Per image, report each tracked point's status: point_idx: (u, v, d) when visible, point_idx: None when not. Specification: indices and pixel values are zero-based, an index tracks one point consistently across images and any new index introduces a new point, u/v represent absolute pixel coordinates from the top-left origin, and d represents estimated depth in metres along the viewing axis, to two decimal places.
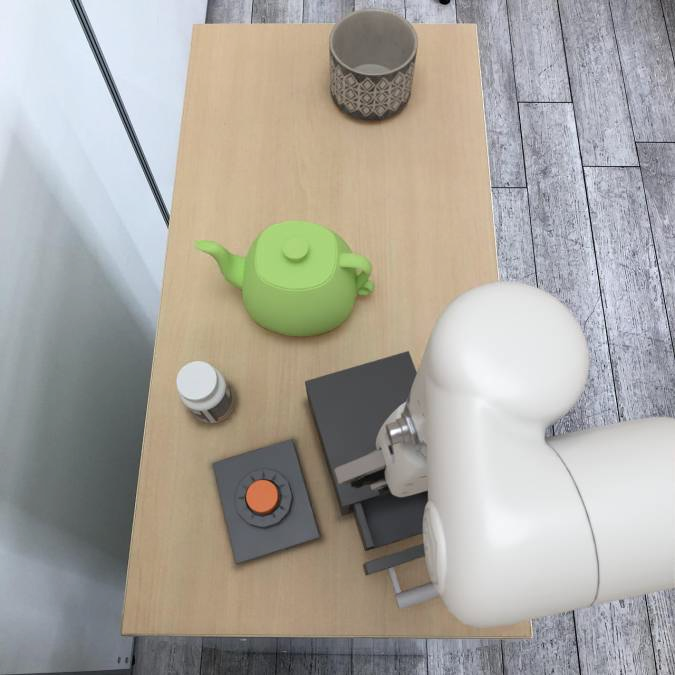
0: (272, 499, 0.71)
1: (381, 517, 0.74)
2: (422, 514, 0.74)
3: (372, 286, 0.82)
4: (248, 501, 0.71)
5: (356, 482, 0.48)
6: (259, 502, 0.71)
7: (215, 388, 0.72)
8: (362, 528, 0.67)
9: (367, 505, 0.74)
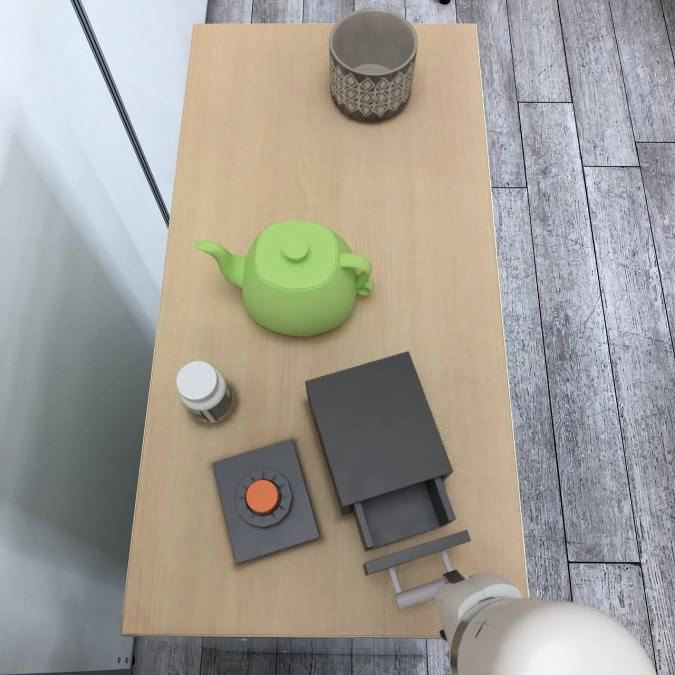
0: (272, 499, 0.71)
1: (381, 517, 0.74)
2: (422, 514, 0.74)
3: (372, 286, 0.82)
4: (248, 501, 0.71)
5: None
6: (259, 502, 0.71)
7: (215, 388, 0.72)
8: (362, 528, 0.67)
9: (367, 505, 0.74)
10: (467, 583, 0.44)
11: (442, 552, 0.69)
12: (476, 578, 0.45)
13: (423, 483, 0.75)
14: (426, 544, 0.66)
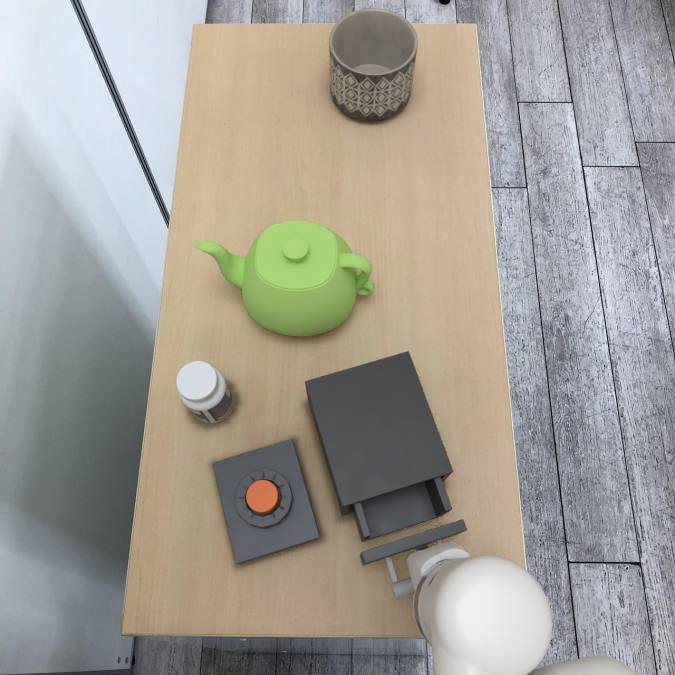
0: (272, 499, 0.71)
1: (378, 508, 0.74)
2: (419, 505, 0.74)
3: (372, 286, 0.82)
4: (248, 501, 0.71)
5: None
6: (259, 502, 0.71)
7: (215, 388, 0.72)
8: (359, 518, 0.67)
9: None
10: (430, 549, 0.56)
11: (438, 542, 0.69)
12: (437, 545, 0.56)
13: None
14: (422, 533, 0.67)
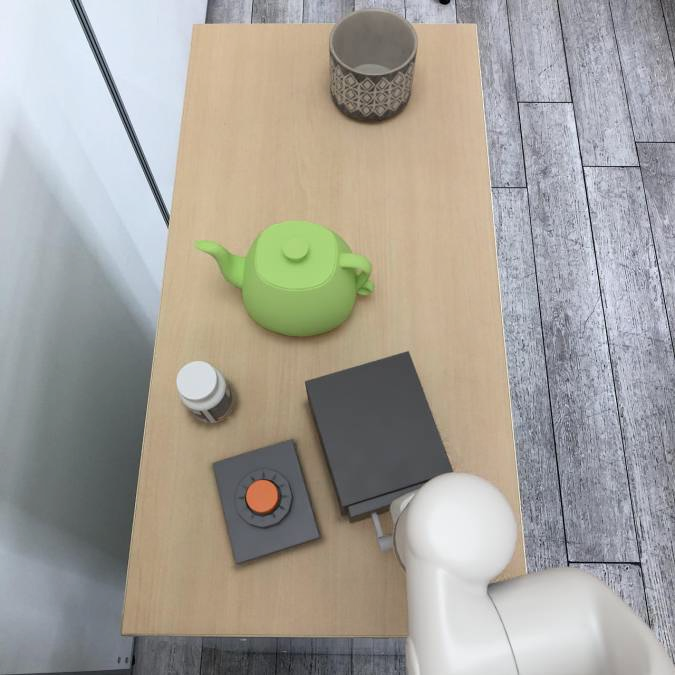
0: (272, 499, 0.71)
1: None
2: None
3: (372, 286, 0.82)
4: (248, 501, 0.71)
5: None
6: (259, 502, 0.71)
7: (215, 388, 0.72)
8: None
9: None
10: None
11: None
12: None
13: None
14: (407, 488, 0.68)
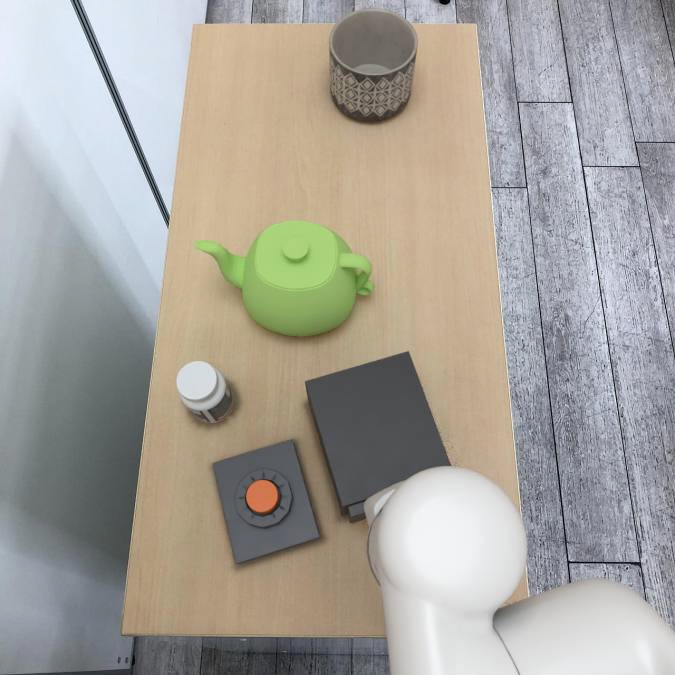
0: (272, 499, 0.71)
1: None
2: None
3: (372, 286, 0.82)
4: (248, 501, 0.71)
5: None
6: (259, 502, 0.71)
7: (215, 388, 0.72)
8: None
9: None
10: (386, 488, 0.47)
11: None
12: None
13: None
14: None
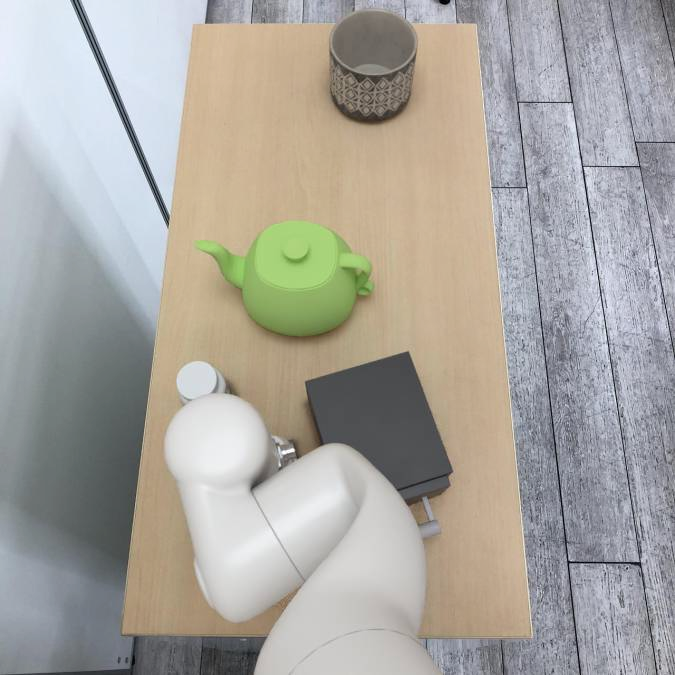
0: None
1: None
2: None
3: (372, 286, 0.82)
4: None
5: None
6: None
7: (215, 388, 0.72)
8: None
9: None
10: None
11: (423, 498, 0.71)
12: None
13: None
14: (407, 488, 0.68)
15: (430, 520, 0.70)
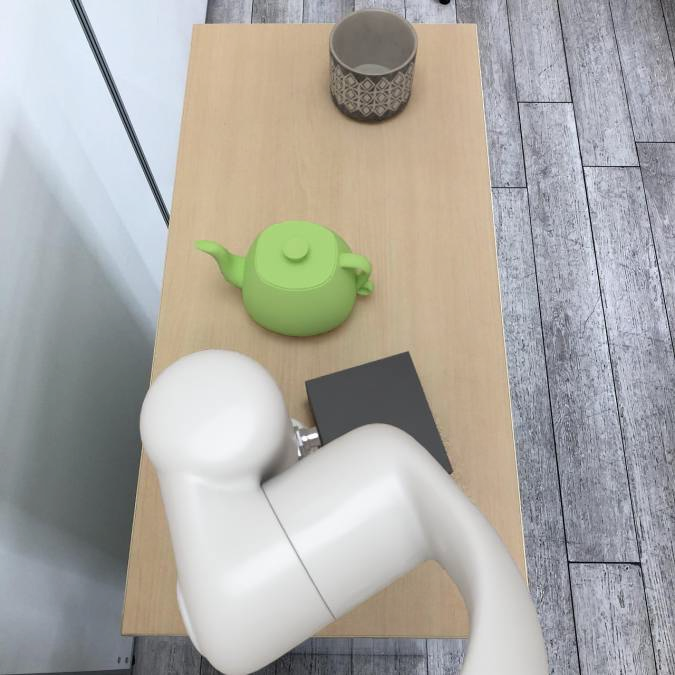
0: None
1: None
2: None
3: (372, 286, 0.82)
4: None
5: None
6: None
7: None
8: None
9: None
10: None
11: None
12: None
13: None
14: None
15: None
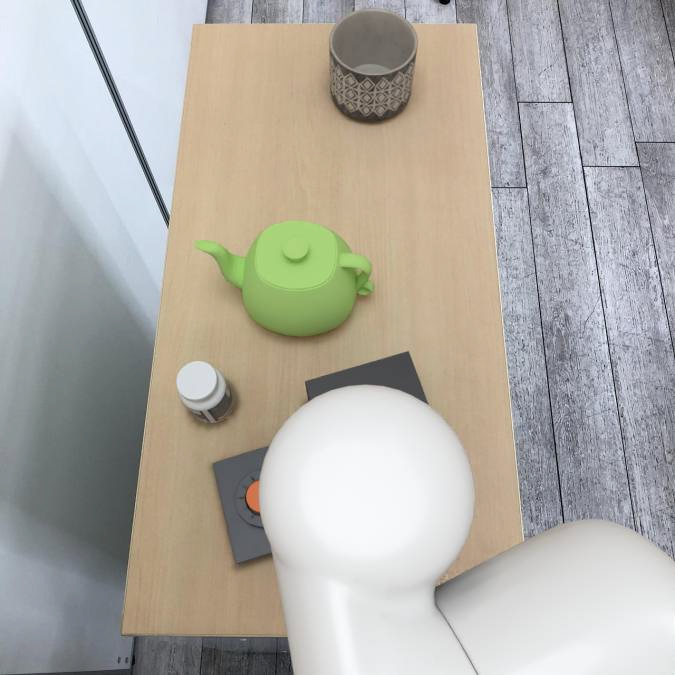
0: None
1: None
2: None
3: (372, 286, 0.82)
4: (248, 501, 0.71)
5: None
6: None
7: (215, 388, 0.72)
8: None
9: None
10: None
11: None
12: None
13: None
14: None
15: None
